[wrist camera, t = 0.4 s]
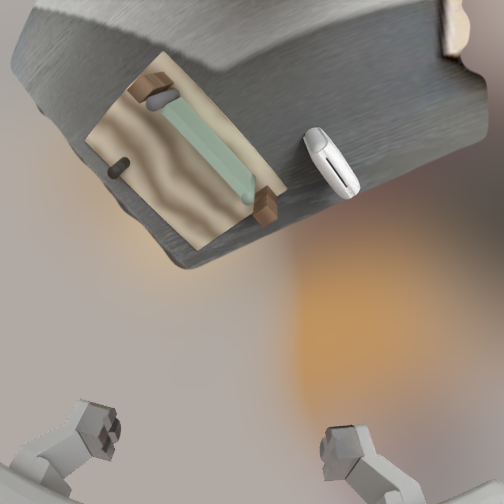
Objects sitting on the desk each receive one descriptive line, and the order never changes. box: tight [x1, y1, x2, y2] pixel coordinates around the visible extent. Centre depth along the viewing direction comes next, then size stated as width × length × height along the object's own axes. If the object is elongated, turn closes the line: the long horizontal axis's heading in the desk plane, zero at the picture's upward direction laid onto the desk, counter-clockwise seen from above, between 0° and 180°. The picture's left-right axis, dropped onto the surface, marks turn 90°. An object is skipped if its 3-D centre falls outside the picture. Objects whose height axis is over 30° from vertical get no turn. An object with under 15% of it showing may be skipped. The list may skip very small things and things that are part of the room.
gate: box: [146, 88, 256, 206], centre depth 46 cm, size 23×2×10 cm, turn 39°
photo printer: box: [303, 127, 360, 199], centre depth 46 cm, size 10×4×12 cm, turn 40°
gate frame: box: [85, 51, 288, 251], centre depth 49 cm, size 24×34×11 cm
